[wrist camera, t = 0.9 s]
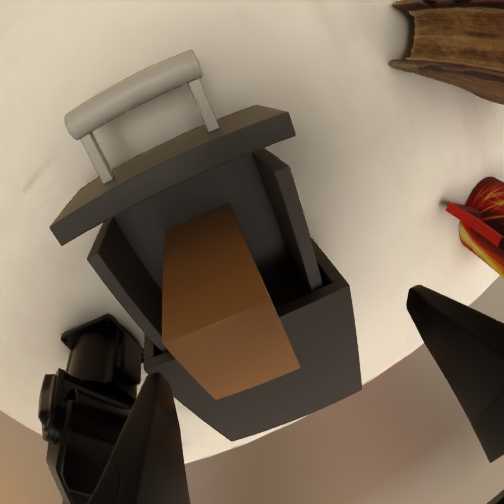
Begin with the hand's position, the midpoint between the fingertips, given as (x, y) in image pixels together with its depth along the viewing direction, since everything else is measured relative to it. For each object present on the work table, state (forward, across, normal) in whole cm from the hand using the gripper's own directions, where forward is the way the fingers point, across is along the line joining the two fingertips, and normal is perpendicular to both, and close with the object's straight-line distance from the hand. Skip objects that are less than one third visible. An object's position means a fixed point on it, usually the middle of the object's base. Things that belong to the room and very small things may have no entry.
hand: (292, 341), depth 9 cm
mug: (+14, -27, +10) cm, 32 cm away
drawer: (+12, +3, 0) cm, 13 cm away
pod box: (+11, +2, +3) cm, 12 cm away
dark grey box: (+13, +1, +12) cm, 18 cm away
